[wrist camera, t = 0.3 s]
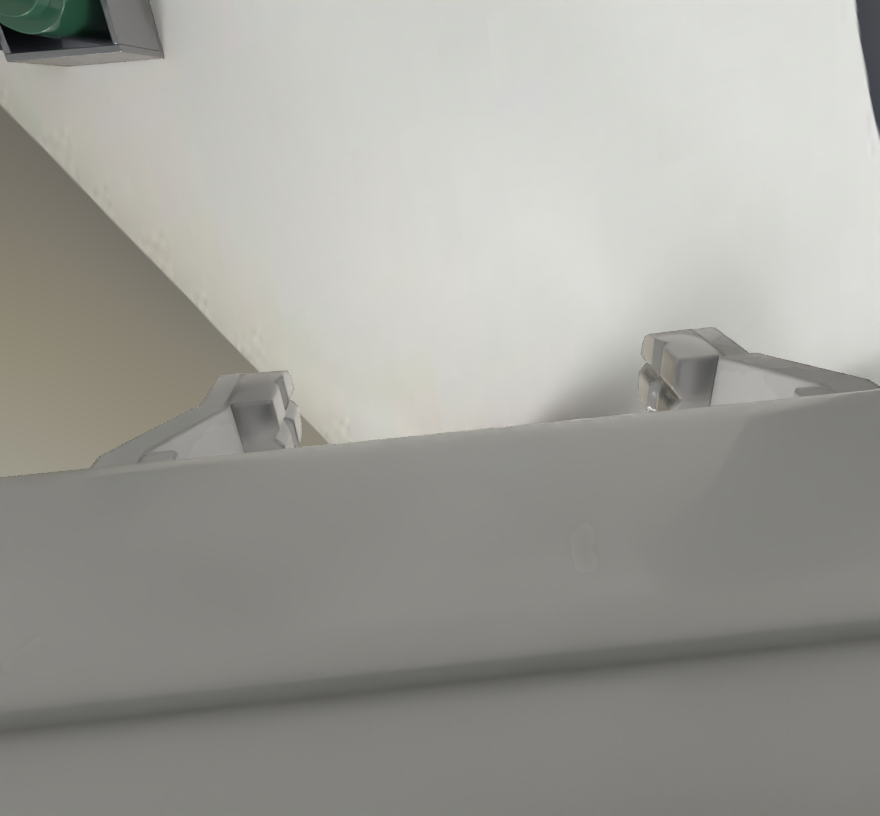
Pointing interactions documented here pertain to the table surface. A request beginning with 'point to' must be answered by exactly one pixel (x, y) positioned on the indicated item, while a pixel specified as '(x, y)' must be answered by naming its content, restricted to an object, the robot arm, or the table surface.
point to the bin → (127, 29)
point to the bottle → (58, 19)
